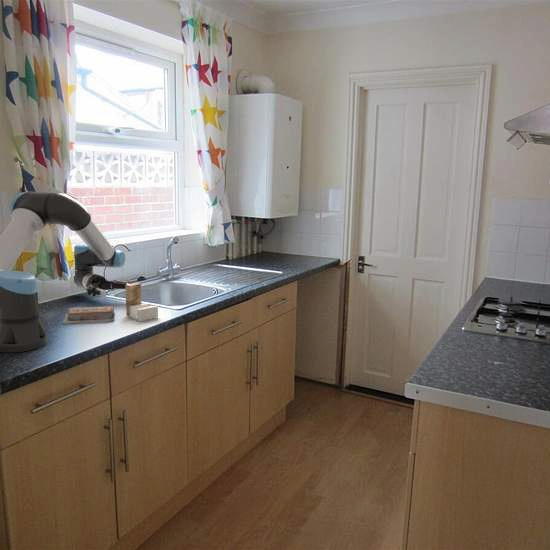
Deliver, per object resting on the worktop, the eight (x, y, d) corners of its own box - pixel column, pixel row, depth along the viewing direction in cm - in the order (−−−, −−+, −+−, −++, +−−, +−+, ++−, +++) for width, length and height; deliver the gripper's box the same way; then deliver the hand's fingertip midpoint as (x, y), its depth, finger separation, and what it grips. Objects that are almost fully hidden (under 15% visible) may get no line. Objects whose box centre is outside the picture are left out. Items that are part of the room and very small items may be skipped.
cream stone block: (139, 321, 195) (139, 309, 194) (129, 317, 200) (129, 306, 199) (158, 317, 201) (157, 306, 200) (147, 313, 206) (147, 302, 205)
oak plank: (130, 315, 203) (129, 285, 200) (126, 314, 205) (125, 284, 202) (141, 313, 206) (141, 283, 204) (137, 312, 208) (136, 282, 206)
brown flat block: (114, 303, 203) (113, 310, 194) (115, 315, 204) (114, 323, 195) (65, 305, 199) (61, 312, 189) (66, 317, 200) (62, 325, 190)
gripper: (121, 287, 235) (147, 295, 220) (67, 296, 217) (92, 305, 202) (120, 271, 233) (147, 278, 219) (66, 278, 215) (91, 287, 201)
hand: (120, 291), depth 211 cm, fingers open, 13 cm apart
